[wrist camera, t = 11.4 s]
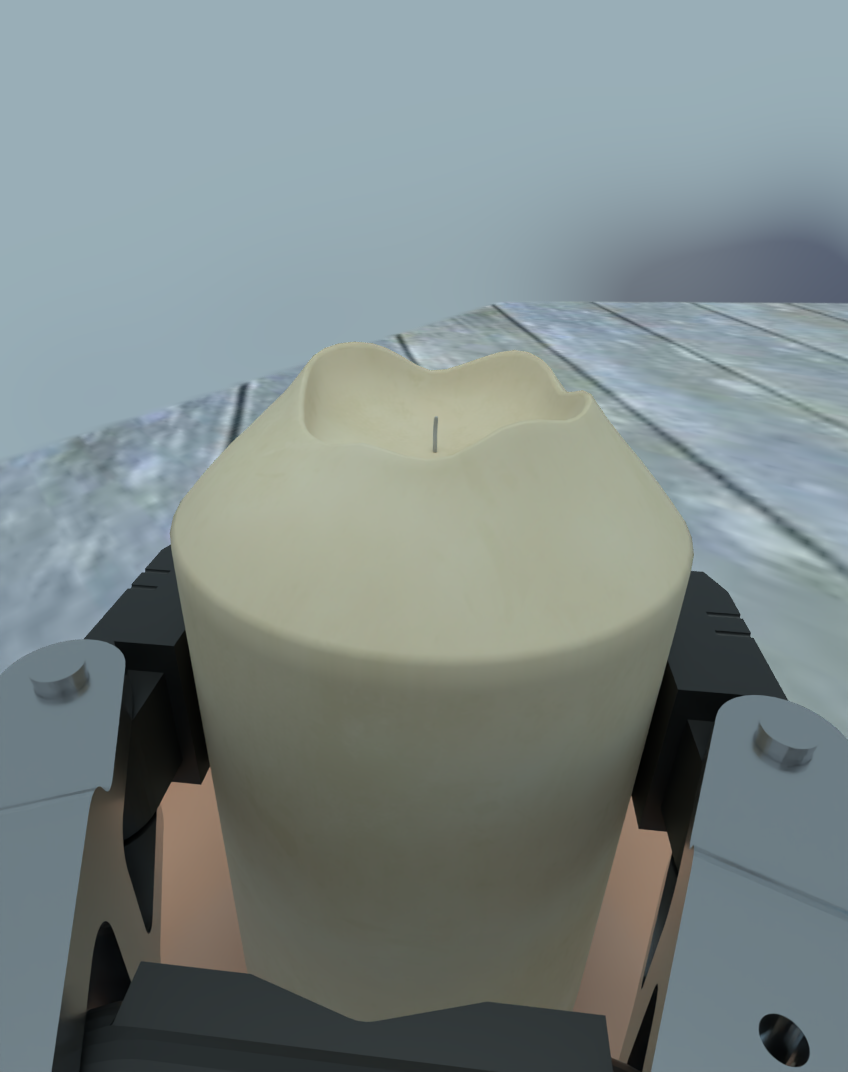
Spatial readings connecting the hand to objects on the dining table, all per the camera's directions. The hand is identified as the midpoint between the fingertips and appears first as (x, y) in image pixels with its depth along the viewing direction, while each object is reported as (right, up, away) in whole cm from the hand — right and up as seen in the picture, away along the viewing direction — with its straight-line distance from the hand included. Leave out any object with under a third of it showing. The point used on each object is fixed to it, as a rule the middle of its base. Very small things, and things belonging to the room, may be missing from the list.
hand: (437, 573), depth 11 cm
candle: (0, -7, +1) cm, 7 cm away
